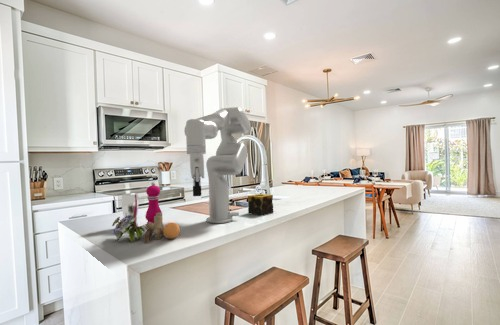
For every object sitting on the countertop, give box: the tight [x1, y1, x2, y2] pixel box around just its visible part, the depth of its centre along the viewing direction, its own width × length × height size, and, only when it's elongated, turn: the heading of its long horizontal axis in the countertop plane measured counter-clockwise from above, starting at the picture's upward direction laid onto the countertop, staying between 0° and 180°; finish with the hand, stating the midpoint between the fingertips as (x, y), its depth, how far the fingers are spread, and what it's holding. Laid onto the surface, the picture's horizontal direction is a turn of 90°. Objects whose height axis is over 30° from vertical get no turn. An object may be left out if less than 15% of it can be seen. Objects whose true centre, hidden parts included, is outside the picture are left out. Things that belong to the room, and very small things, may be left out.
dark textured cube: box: [247, 193, 274, 216], centre depth 143 cm, size 10×10×10 cm
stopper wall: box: [143, 228, 155, 244], centre depth 101 cm, size 2×15×3 cm, turn 14°
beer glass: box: [120, 192, 140, 228], centre depth 117 cm, size 7×7×15 cm
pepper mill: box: [145, 181, 163, 225], centre depth 120 cm, size 7×7×20 cm
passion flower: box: [111, 212, 148, 243], centre depth 99 cm, size 11×11×12 cm
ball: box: [163, 222, 181, 240], centre depth 99 cm, size 6×6×6 cm
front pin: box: [147, 222, 165, 235], centre depth 102 cm, size 2×2×8 cm
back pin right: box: [156, 212, 164, 236], centre depth 105 cm, size 2×2×8 cm
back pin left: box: [153, 216, 162, 241], centre depth 99 cm, size 2×2×8 cm
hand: (197, 195), depth 105 cm, fingers closed
